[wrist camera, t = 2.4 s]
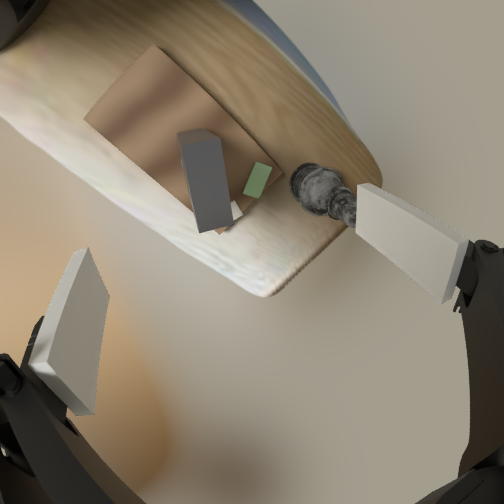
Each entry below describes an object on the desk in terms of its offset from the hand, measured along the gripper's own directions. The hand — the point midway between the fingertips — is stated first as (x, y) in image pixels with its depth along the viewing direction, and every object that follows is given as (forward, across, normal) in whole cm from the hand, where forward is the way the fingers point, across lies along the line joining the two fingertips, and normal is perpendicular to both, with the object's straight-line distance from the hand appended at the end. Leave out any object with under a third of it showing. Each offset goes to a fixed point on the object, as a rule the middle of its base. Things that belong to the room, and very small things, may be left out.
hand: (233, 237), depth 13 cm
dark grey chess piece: (+20, +13, -5) cm, 24 cm away
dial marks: (+18, +4, -5) cm, 19 cm away
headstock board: (+20, 0, +2) cm, 20 cm away
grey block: (+18, 0, -2) cm, 18 cm away
